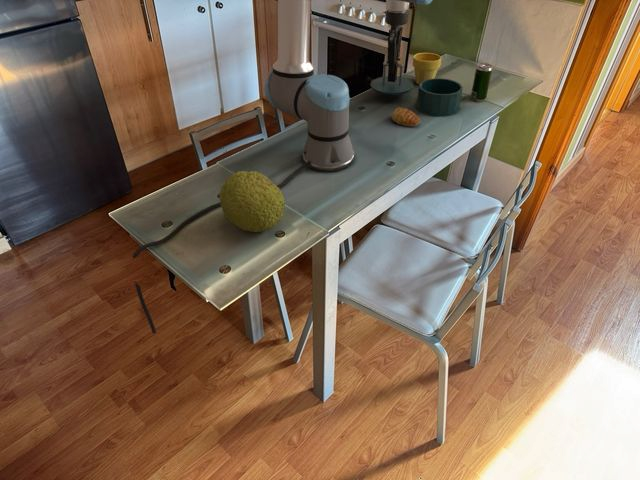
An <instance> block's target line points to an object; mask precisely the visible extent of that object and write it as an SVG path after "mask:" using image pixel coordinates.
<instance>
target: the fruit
mask: <svg viewBox="0 0 640 480" xmlns="http://www.w3.org/2000/svg"><path fill="white" fill-rule="evenodd" d="M277 186H278V185H276V184H275V183H274V182H273V181H272V180H271V179H270V178H269V177H268V176H266V175H265V174H263V173H261V172H259V171H255V170H251V171H246V170H241V171H240V170H239V171H235V172H234V173H232V174H231V175H229V176H228V177H227V178H226V179H225V180H224V184H222V186H221V188H220V192H219V202H220V205H221V206H220V208H221V211H222V213H223V215H224V217H225V218H226V220H228V221H229V222H230V223H232V224H233V225H234V226H236V227H238V228H239V229H241V230H243V231H245V232H246V231H247V232H249V233H250V232H251V233H261V232H266V231H268V230H270V229H271V228H273V227H274V228H275V226H276V225H277V224H278V223H279V222H280V221H281V219H282V218H283V215H284V209H285V206H286V204H285V197H284V195H283V194H282V191H281V188H279V187H277Z"/></svg>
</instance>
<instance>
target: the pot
mask: <svg viewBox="0 0 640 480" xmlns="http://www.w3.org/2000/svg"><path fill="white" fill-rule="evenodd" d="M463 88H464V87H463V85H462V84H461V83H459V82H458V81H457V80H453V79H449V78H442V77H437V78H436V77H435V78H433V79H427V80H424V81H422V82H421V83H420V85H419V84H418V91H417V100H416V108H417V110H418V111H419V112H421V113H423V114H425V115H428V116H434V117H446V116H451V115H454V114H456V113H458V111H459V110H460V106H461V101H462V94H463V90H464V89H463Z"/></svg>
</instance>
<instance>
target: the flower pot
mask: <svg viewBox="0 0 640 480" xmlns="http://www.w3.org/2000/svg"><path fill="white" fill-rule="evenodd" d="M441 64H442V56H441V55H439V54H436V53H433V52H419V53H415V54H414V55H413V57H412V67H413V68H414V79H415V83H416V84H417V85H418V86H419V85H420V83H421V82H422V81H424V80H427V79H433V78H436V75H437V73H438V69H440V67H441Z"/></svg>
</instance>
